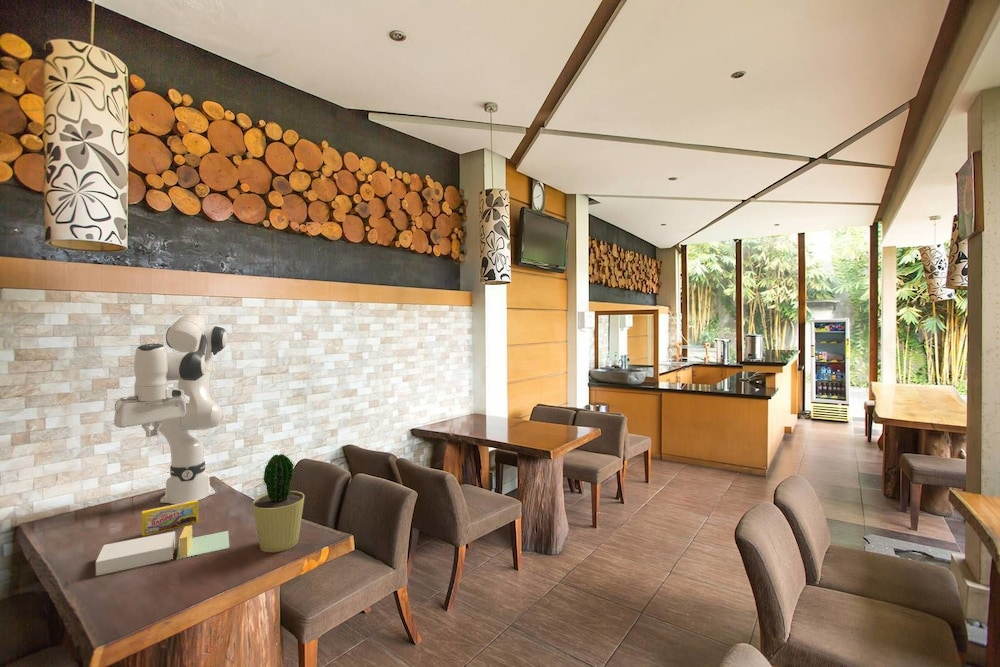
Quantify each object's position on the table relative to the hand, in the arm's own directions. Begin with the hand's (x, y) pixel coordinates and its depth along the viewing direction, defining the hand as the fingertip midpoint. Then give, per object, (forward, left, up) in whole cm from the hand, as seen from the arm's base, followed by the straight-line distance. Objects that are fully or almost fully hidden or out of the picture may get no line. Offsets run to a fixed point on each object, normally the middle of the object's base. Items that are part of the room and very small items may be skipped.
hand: (152, 435), depth 154 cm
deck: (+11, -3, -35) cm, 37 cm away
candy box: (-9, +4, -35) cm, 37 cm away
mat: (+11, +14, -35) cm, 39 cm away
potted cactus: (+23, +35, -35) cm, 55 cm away
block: (+13, +8, -32) cm, 35 cm away
